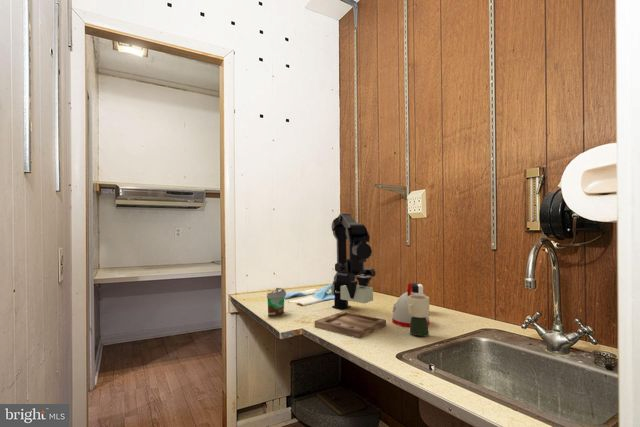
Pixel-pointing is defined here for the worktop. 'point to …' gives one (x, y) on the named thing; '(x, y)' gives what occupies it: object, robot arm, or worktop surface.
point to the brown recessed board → (350, 324)
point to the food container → (276, 302)
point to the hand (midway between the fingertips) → (356, 297)
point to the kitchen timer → (403, 310)
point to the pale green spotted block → (358, 294)
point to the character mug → (418, 314)
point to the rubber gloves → (313, 299)
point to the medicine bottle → (417, 289)
